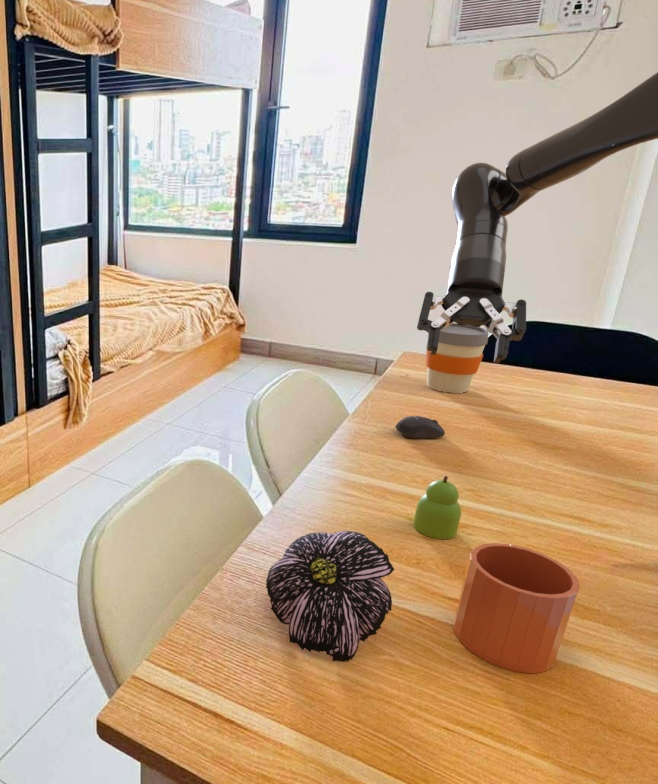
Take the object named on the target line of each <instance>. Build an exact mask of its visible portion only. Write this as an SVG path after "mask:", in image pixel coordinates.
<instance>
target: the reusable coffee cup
mask: <svg viewBox="0 0 658 784" xmlns="http://www.w3.org/2000/svg"><path fill="white" fill-rule="evenodd" d="M457 324H458V323H455V322H453V323H452V324H451V325H449V326H448V327H447V328H444V329H443V330H441V331H440V335H439V342H438V348H437V352H436V355H431V351H428V350H427V349H426V353H425V354H426V355H425V366H426V367H427V369H426V371H427V372H426V386H427V387H428V388H429V387H430V389H431V388H432V390H434V389H435V390H434V391H437V390H438V392H441V391H443V392H442V393H447V392H451V393H450V394H464V393H463V392H465V393H467V392H468V390H469V389H470V385H471V384H472V381H473V378H474V375H475V374H477V373H478V370H479V367H480V366H481V362H482V360H483V358H484V353H483V351H484V349H485V347H486V345H488V341H489V331H488V330H487V329H486V328H485V327H481V326H480V327H474V326H471V325H457ZM427 334H428V333H427ZM428 336H429V334H428V335H427V337H428ZM466 391H467V392H466Z"/></svg>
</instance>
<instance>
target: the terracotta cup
mask: <svg viewBox="0 0 658 784" xmlns="http://www.w3.org/2000/svg"><path fill="white" fill-rule="evenodd" d="M580 588H581V585H580V581H579V578H578V577H577V576H576V575H575V573H573V571H572V570H571V569H570V568H569V567H567V566H566V565H564V564H562V563H561V562H560V561H558V560H556V559H555V558H553V557H551V556H549V555H546V554H544V553H542V552H539V551H536V550H534V549H531V548H527V547H524V546H519V545H515V544H510V543H500V542H489V543H483V544H479V545H477V546H475V547H473V549H472V550H471V551H470V554H469V558H468V562H467V566H466V569H465V575H464V577H463V581H462V585H461V590H460V593H459V596H458V597H459V598H458V602H457V606H456V610H455V614H454V618H453V619H454V621H453V624H452V625H453V631H454V633H455V636H456V637H457V639H458V640H459V642H461V644H462V645H463V646H464V647H465V648H466V649H468V650H469V651H470V652H471V653H473V654H474V655H475V656H477V657H479V658H480V659H483V660H484V661H486V662H487V663H489V664H491V665H495V666H497V667H500V668H502V669H505V670H509V671H512V672H517V673H522V674H523V673H524V674H538V673H539V674H540V673H544V672H547V671H549V670H550V669H552V668H553V667H554V666H555V664H556V661H557V658H558V656H559V652H560V649H561V646H562V644H563V641H564V637H565V635H566V632H567V629H568V625H569V622H570V620H571V619H570V618H571V616H572V613H573V610H574V607H575V604H576V600H577V597H578V595H579V591H580V590H581V589H580Z"/></svg>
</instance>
